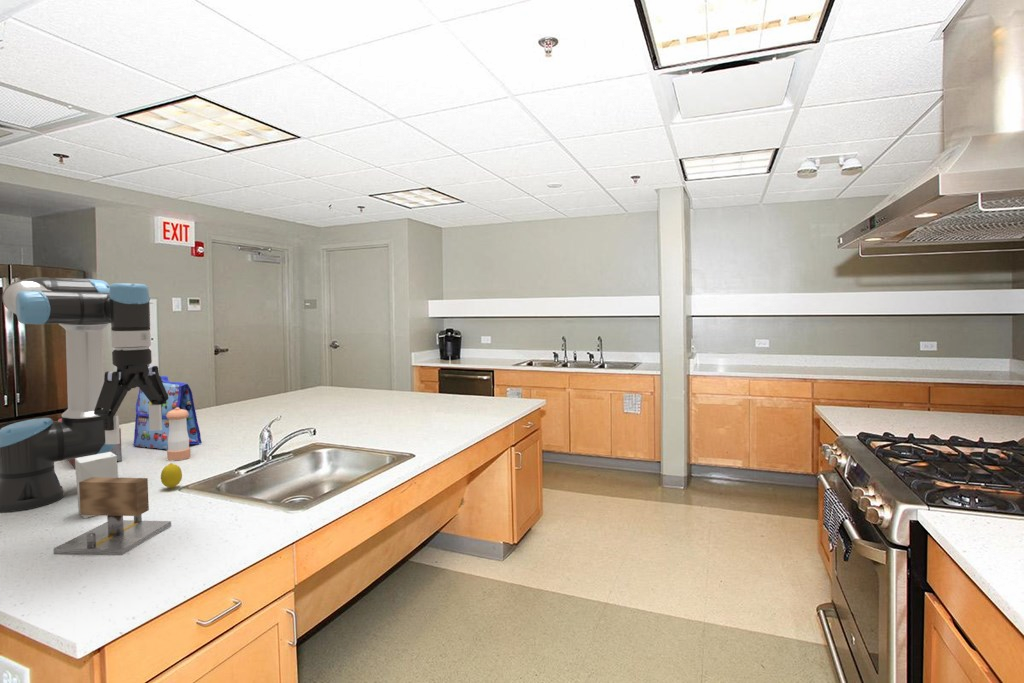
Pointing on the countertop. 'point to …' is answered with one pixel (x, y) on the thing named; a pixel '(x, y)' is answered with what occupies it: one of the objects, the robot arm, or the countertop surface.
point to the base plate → (113, 537)
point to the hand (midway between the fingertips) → (135, 436)
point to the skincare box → (95, 469)
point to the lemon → (171, 475)
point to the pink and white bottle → (178, 435)
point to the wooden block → (114, 496)
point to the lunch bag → (177, 398)
